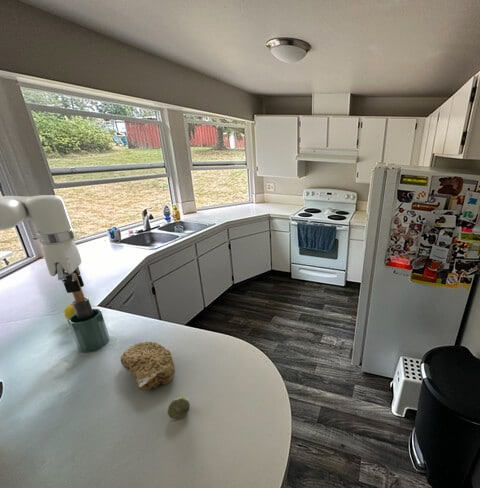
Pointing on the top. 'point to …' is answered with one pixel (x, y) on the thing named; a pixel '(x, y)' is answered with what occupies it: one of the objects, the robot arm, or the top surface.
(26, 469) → the top surface
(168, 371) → the beige grainy bag
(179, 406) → the lime
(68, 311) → the lemon
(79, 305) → the brush
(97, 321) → the teal ceramic mug
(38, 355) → the top surface
